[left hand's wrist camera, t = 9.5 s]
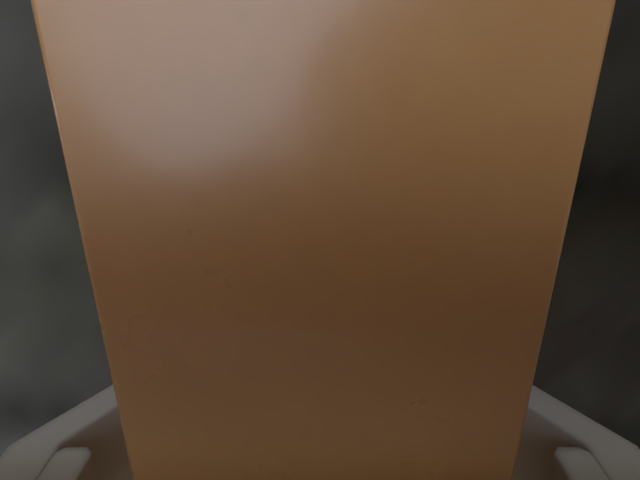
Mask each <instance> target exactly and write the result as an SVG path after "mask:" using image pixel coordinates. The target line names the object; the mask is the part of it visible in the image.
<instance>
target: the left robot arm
mask: <svg viewBox="0 0 640 480" xmlns="http://www.w3.org/2000/svg"><path fill="white" fill-rule="evenodd" d="M0 480H133V476H132V471H131V466H130V462H129V457H128V452H127V448H126V443H125V438H124V434H123V429H122V424H121V420H120V415H119V410H118V406H117V401H116V396H115V392H114V387H113V385H111V386H109V387H108V388H106V389H104V390H103V391H101V392H99V393H97V394H96V395H94V396H92V397H91V398H89V399H87V400H86V401H84V402H82V403H80V404H79V405H77V406H75V407H74V408H72V409H70V410H69V411H67V412H65V413H63V414H62V415H60V416H58V417H57V418H55V419H53V420H52V421H50V422H48V423H46V424H45V425H43V426H41V427H40V428H38V429H36V430H35V431H33V432H31V433H29V434H28V435H26V436H24V437H23V438H21V439H19V440H18V441H16V442H14V443H12V444H11V445H9V447H8V448H7V449H6V450H5V451H4V453H3V454H2V455H1V456H0ZM512 480H640V449H639V448H638V447H637V446H636V445H634V444H633V443H631V442H629V441H628V440H626V439H624V438H623V437H621V436H619V435H617V434H616V433H614V432H612V431H611V430H609V429H607V428H605V427H604V426H602V425H600V424H599V423H597V422H595V421H593V420H592V419H590V418H588V417H587V416H585V415H583V414H581V413H580V412H578V411H576V410H575V409H573V408H571V407H569V406H568V405H566V404H564V403H563V402H561V401H559V400H558V399H556V398H554V397H552V396H551V395H549V394H547V393H546V392H544V391H542V390H540V389H539V388H537V387H535V386H534V385H532V390H531V394H530V399H529V403H528V408H527V413H526V417H525V422H524V426H523V431H522V436H521V440H520V445H519V450H518V454H517V459H516V463H515V468H514V473H513V477H512Z"/></svg>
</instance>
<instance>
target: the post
mask: <svg viewBox="0 0 640 480" xmlns="http://www.w3.org/2000/svg"><path fill="white" fill-rule="evenodd" d="M615 2H616V0H31V5H32V10H33V14H34V19H35V24H36V28H37V33H38V38H39V42H40V47H41V52H42V56H43V61H44V66H45V70H46V75H47V79H48V84H49V89H50V93H51V98H52V103H53V107H54V112H55V117H56V121H57V126H58V131H59V135H60V140H61V145H62V149H63V154H64V159H65V163H66V168H67V173H68V177H69V182H70V187H71V191H72V196H73V201H74V205H75V210H76V215H77V219H78V224H79V229H80V233H81V238H82V243H83V247H84V252H85V257H86V261H87V266H88V271H89V275H90V280H91V285H92V289H93V294H94V298H95V303H96V308H97V312H98V317H99V322H100V326H101V331H102V336H103V340H104V345H105V350H106V354H107V359H108V364H109V368H110V373H111V378H112V382H113V387H114V392H115V396H116V401H117V406H118V410H119V415H120V420H121V424H122V429H123V434H124V438H125V443H126V448H127V452H128V457H129V462H130V466H131V471H132V476H133V480H512V477H513V473H514V468H515V463H516V459H517V454H518V450H519V445H520V440H521V436H522V431H523V426H524V422H525V417H526V413H527V408H528V403H529V399H530V394H531V390H532V385H533V380H534V376H535V371H536V367H537V362H538V357H539V353H540V348H541V343H542V339H543V334H544V330H545V325H546V320H547V316H548V311H549V307H550V302H551V297H552V293H553V288H554V283H555V279H556V274H557V270H558V265H559V260H560V256H561V251H562V247H563V242H564V237H565V233H566V228H567V224H568V219H569V214H570V210H571V205H572V200H573V196H574V191H575V187H576V182H577V177H578V173H579V168H580V164H581V159H582V154H583V150H584V145H585V140H586V136H587V131H588V127H589V122H590V117H591V113H592V108H593V104H594V99H595V94H596V90H597V85H598V81H599V76H600V71H601V67H602V62H603V57H604V53H605V48H606V44H607V39H608V34H609V30H610V25H611V21H612V16H613V11H614V7H615Z"/></svg>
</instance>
